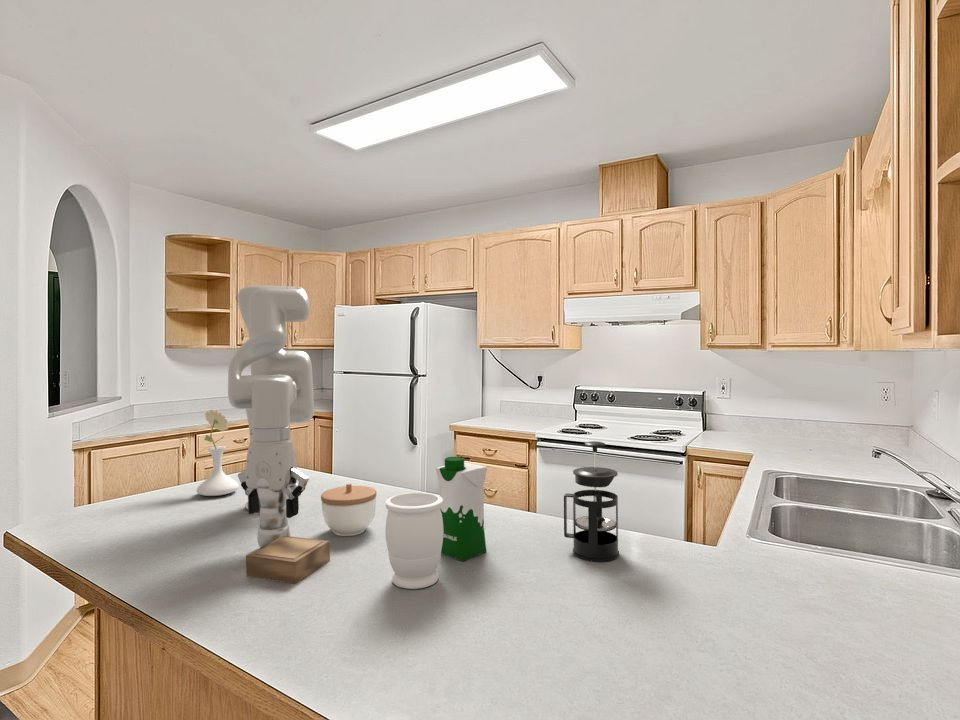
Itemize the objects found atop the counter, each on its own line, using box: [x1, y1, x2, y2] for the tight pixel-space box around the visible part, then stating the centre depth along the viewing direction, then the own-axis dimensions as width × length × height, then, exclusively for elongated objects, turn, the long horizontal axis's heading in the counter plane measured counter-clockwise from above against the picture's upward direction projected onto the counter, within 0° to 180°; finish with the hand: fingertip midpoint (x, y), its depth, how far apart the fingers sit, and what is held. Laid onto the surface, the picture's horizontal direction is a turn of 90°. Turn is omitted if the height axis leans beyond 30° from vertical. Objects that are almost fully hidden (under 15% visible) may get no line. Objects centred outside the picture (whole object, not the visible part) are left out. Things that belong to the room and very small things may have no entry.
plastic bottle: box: [256, 478, 291, 548], centre depth 116 cm, size 6×7×20 cm
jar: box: [385, 492, 444, 590], centre depth 99 cm, size 11×10×15 cm
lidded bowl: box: [320, 483, 377, 537], centre depth 126 cm, size 13×13×11 cm
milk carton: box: [435, 456, 488, 562], centre depth 112 cm, size 9×9×20 cm
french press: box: [563, 440, 620, 563], centre depth 111 cm, size 12×9×23 cm
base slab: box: [245, 535, 331, 584], centre depth 105 cm, size 11×11×4 cm
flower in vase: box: [196, 408, 240, 497], centre depth 160 cm, size 13×11×25 cm
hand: (273, 514), depth 116 cm, fingers open, 9 cm apart
